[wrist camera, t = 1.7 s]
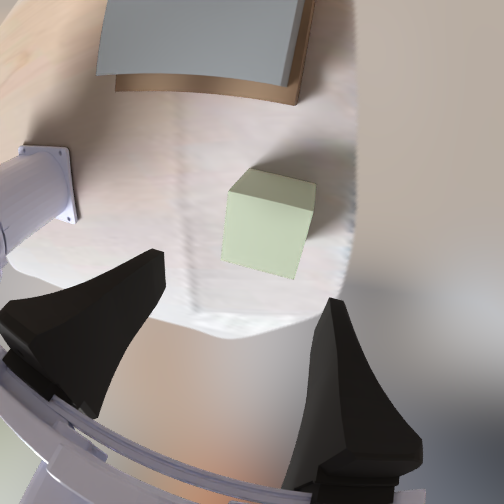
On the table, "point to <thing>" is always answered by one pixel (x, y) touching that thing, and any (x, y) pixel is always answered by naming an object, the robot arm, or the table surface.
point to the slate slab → (201, 38)
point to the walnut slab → (230, 84)
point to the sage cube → (267, 222)
